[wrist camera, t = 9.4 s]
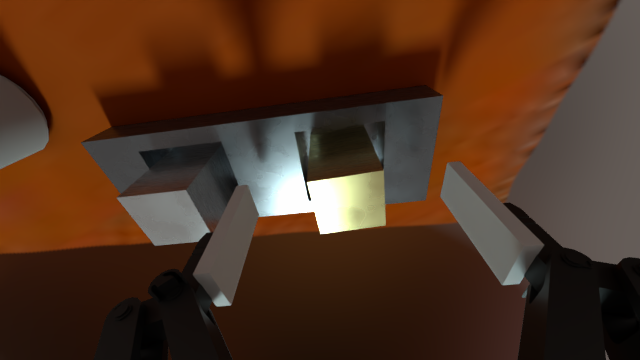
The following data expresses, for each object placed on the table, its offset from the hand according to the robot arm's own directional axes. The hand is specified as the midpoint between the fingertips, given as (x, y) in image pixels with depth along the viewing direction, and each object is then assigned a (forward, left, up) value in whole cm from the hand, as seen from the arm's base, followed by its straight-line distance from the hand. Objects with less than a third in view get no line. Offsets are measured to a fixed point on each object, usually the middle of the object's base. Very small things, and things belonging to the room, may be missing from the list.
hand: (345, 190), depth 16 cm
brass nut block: (0, 0, -6) cm, 6 cm away
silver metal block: (+5, -11, -6) cm, 13 cm away
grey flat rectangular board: (+2, -5, -6) cm, 9 cm away
